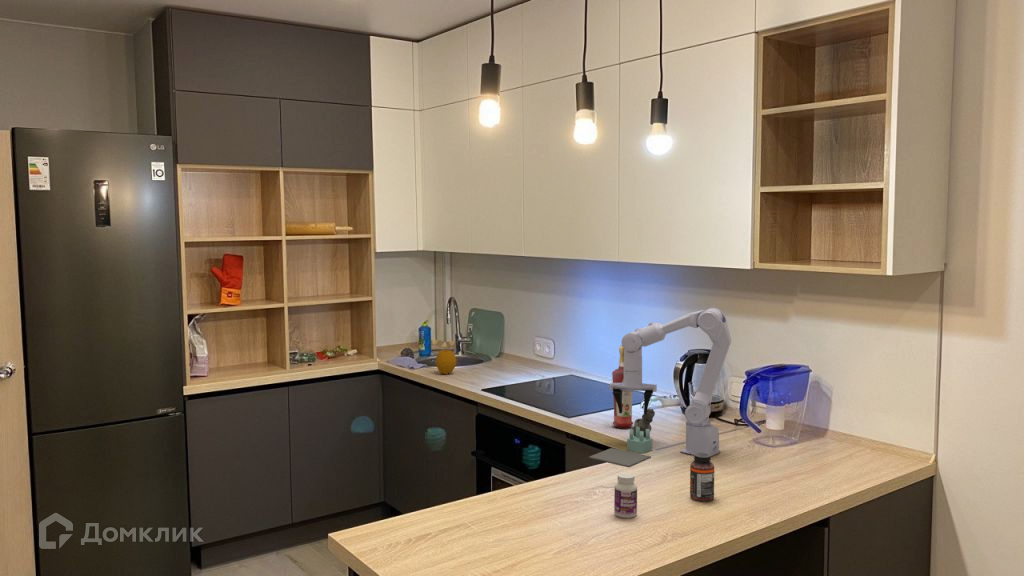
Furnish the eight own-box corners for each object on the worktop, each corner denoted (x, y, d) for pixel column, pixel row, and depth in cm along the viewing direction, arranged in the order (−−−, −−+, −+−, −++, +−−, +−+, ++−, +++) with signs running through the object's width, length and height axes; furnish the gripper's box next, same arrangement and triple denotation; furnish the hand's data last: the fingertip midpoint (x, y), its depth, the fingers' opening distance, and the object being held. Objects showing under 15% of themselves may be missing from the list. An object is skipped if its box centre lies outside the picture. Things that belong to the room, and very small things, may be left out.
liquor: (618, 430, 265) (618, 348, 263) (608, 425, 272) (608, 345, 270) (637, 428, 268) (637, 347, 266) (627, 423, 275) (627, 344, 272)
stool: (651, 449, 243) (652, 429, 242) (642, 453, 239) (642, 432, 238) (636, 446, 246) (636, 426, 246) (627, 450, 242) (627, 429, 242)
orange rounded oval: (461, 373, 369) (460, 349, 368) (445, 376, 362) (445, 351, 361) (447, 371, 376) (446, 347, 375) (431, 374, 369) (431, 349, 368)
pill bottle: (621, 520, 185) (622, 480, 184) (610, 512, 190) (610, 473, 189) (641, 516, 187) (641, 476, 186) (629, 509, 192) (629, 470, 191)
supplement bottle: (687, 494, 202) (688, 451, 202) (711, 494, 202) (711, 451, 201) (692, 502, 197) (692, 457, 196) (716, 502, 196) (717, 457, 195)
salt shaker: (646, 442, 254) (660, 418, 246) (629, 435, 254) (642, 411, 247) (648, 429, 258) (662, 406, 251) (631, 423, 259) (645, 399, 251)
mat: (650, 457, 234) (650, 456, 234) (629, 467, 225) (629, 465, 225) (611, 449, 243) (611, 447, 243) (588, 458, 234) (588, 456, 234)
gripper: (657, 368, 248) (657, 411, 249) (611, 367, 252) (611, 409, 253) (655, 372, 241) (655, 416, 242) (608, 371, 245) (608, 414, 246)
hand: (633, 413), depth 247 cm, fingers open, 7 cm apart
